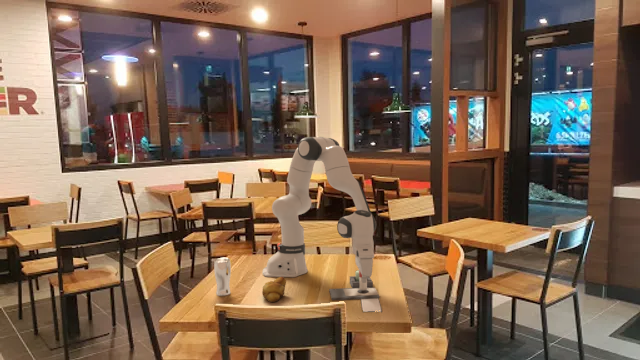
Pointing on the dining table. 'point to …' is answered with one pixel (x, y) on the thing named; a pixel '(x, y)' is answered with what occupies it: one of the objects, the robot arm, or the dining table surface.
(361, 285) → the marker
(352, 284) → the button base
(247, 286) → the dining table surface
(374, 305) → the smartphone
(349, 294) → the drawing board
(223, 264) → the beer glass
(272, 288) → the bread roll
